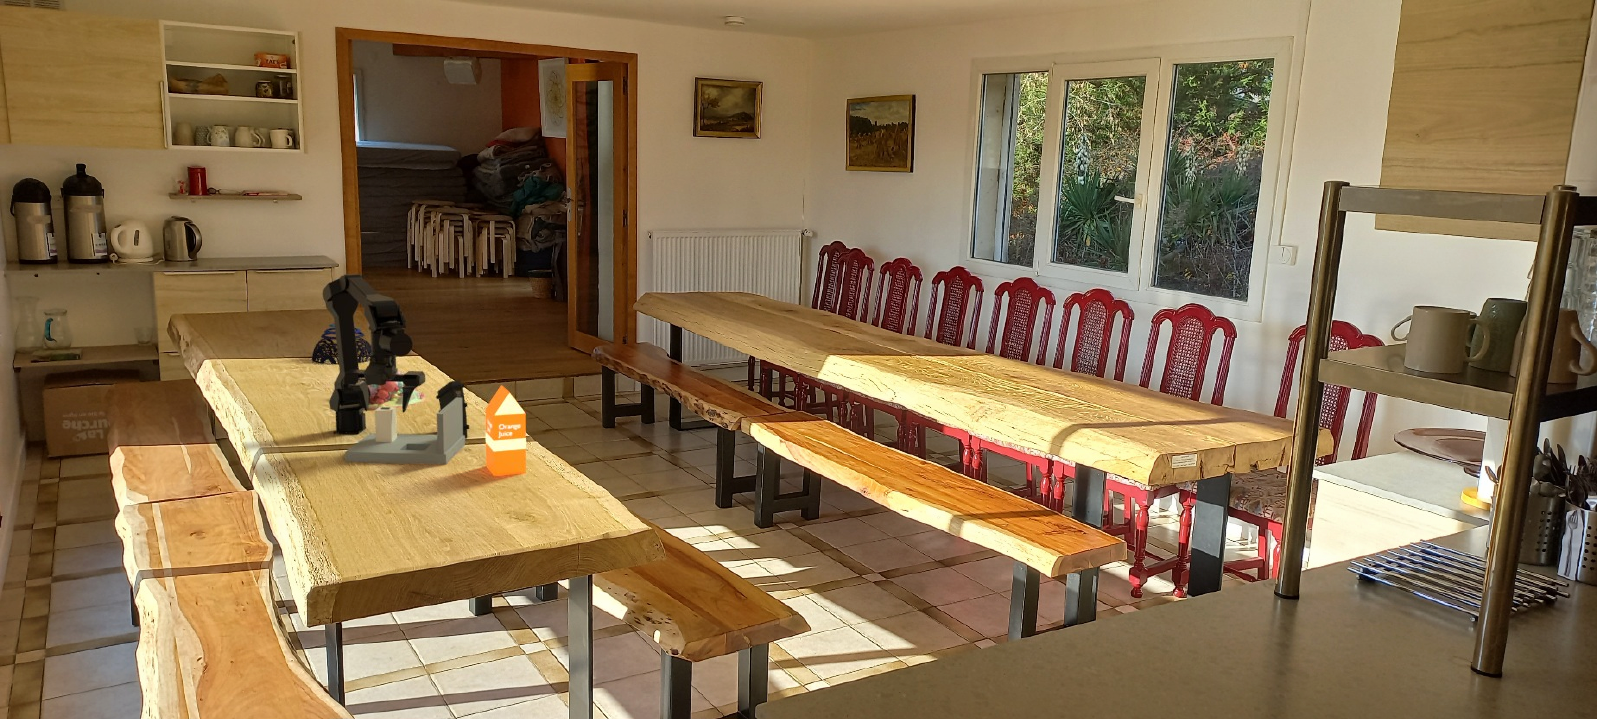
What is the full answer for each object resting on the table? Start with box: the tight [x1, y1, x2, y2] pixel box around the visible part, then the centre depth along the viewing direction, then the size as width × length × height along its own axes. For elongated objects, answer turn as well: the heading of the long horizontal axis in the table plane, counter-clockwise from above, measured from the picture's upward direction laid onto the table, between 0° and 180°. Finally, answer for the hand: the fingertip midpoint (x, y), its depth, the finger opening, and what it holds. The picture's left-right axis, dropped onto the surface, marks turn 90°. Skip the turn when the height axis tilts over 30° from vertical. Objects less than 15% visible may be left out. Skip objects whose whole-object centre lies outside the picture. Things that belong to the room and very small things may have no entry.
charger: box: [374, 407, 398, 442], centre depth 279 cm, size 4×4×8 cm
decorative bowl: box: [311, 323, 371, 365], centre depth 390 cm, size 20×20×14 cm
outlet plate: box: [344, 398, 466, 465], centre depth 276 cm, size 24×18×12 cm
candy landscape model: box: [368, 370, 426, 410], centre depth 333 cm, size 25×24×9 cm
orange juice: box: [484, 384, 527, 477], centre depth 265 cm, size 8×9×20 cm
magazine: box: [435, 380, 470, 439], centre depth 296 cm, size 4×13×15 cm, turn 39°
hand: (385, 411), depth 278 cm, fingers open, 9 cm apart
